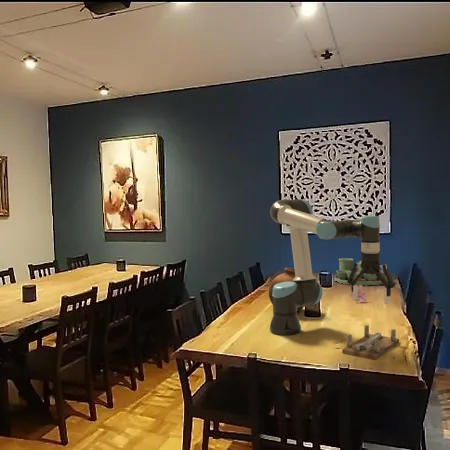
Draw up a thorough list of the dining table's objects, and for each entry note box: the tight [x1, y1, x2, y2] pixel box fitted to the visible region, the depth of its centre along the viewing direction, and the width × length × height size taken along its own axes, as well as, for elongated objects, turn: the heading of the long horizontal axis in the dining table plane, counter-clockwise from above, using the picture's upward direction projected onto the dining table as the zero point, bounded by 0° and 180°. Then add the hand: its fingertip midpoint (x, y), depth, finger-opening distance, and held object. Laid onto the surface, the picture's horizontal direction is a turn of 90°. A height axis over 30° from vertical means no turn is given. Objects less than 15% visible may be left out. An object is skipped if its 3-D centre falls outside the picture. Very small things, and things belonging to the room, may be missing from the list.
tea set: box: [333, 257, 388, 286], centre depth 353 cm, size 40×40×16 cm
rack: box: [341, 324, 400, 360], centre depth 197 cm, size 14×27×6 cm, turn 140°
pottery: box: [268, 267, 305, 312], centre depth 265 cm, size 23×23×25 cm
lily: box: [348, 285, 368, 304], centre depth 284 cm, size 12×12×10 cm
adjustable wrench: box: [355, 332, 382, 351], centre depth 198 cm, size 25×6×2 cm, turn 141°
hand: (370, 301), depth 196 cm, fingers open, 13 cm apart
